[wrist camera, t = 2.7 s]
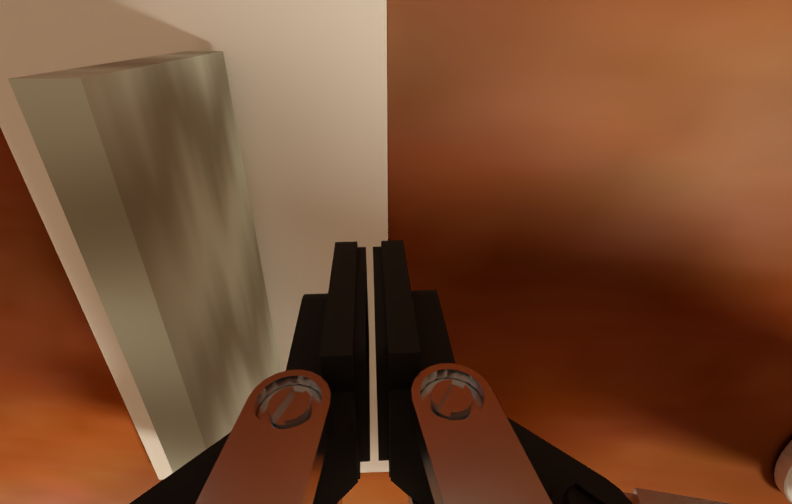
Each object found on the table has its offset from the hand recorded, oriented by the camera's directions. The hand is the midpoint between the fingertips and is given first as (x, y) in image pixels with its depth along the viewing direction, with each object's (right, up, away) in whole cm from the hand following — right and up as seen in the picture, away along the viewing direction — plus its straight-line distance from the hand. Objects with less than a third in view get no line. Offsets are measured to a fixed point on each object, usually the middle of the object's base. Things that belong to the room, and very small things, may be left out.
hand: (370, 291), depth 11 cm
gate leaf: (-6, 0, +8) cm, 9 cm away
